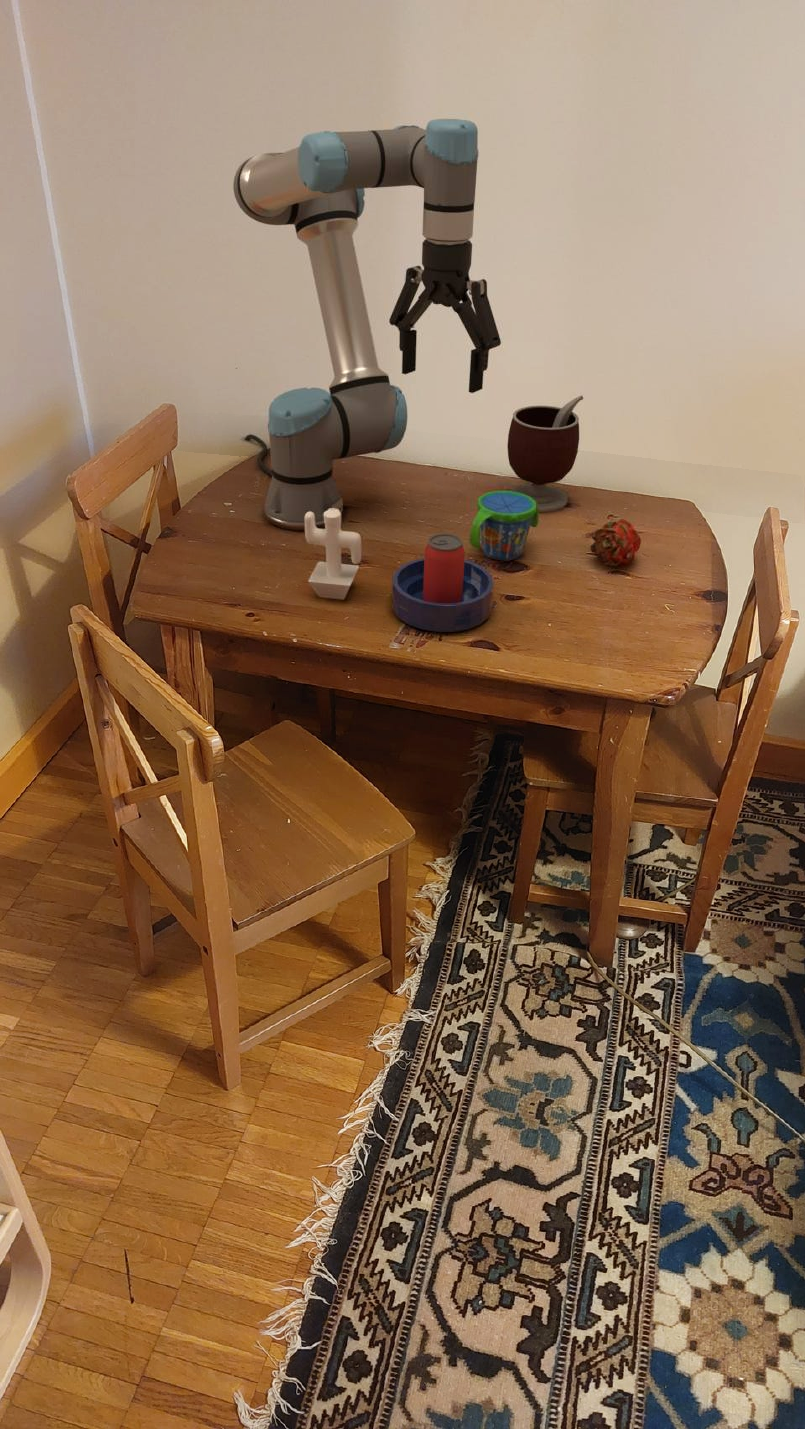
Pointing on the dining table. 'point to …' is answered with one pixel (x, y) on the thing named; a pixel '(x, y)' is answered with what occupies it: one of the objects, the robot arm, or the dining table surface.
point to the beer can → (443, 569)
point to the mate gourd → (543, 451)
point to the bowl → (442, 614)
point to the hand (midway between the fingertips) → (441, 381)
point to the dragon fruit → (616, 542)
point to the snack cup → (503, 523)
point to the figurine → (332, 555)
